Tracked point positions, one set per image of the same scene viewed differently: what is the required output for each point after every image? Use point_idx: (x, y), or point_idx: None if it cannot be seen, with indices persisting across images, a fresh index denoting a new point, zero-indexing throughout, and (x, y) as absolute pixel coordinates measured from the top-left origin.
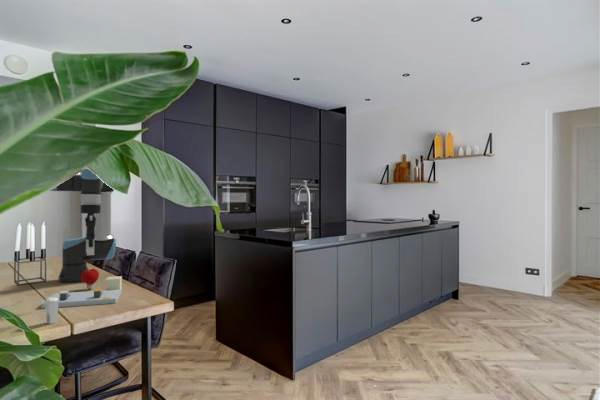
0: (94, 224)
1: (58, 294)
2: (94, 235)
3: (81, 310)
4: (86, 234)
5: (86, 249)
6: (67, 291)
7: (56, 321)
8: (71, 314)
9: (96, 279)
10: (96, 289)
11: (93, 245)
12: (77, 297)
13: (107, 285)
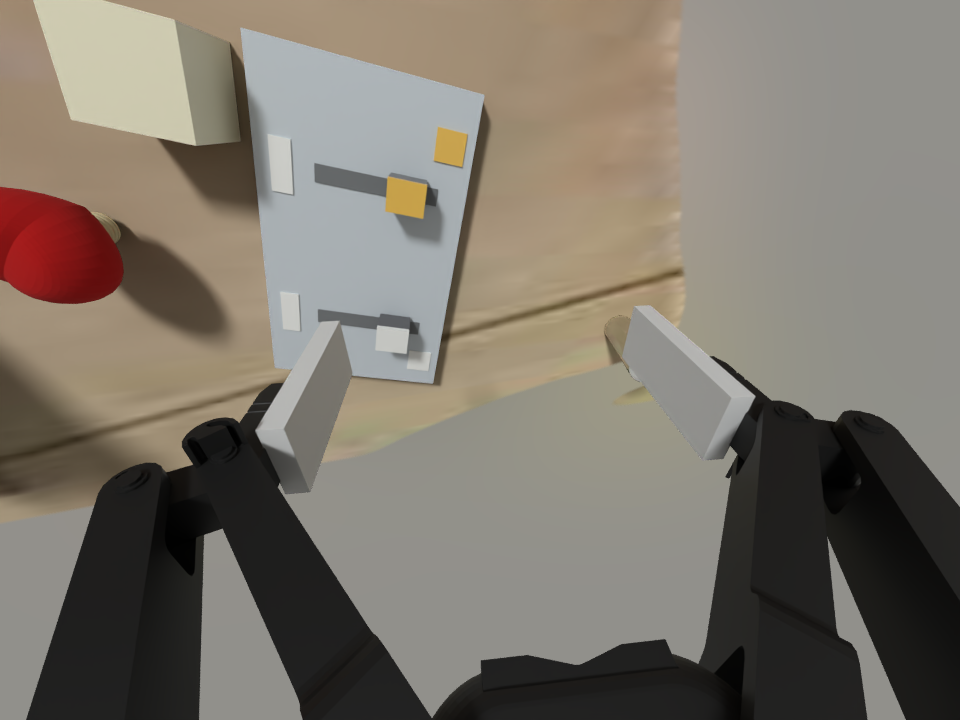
0: (850, 663)
1: (297, 351)
2: (209, 436)
3: (528, 251)
4: (205, 532)
5: (345, 384)
6: (391, 329)
7: (625, 316)
8: (562, 281)
9: (64, 201)
10: (399, 205)
11: (699, 359)
12: (382, 279)
13: (215, 129)
